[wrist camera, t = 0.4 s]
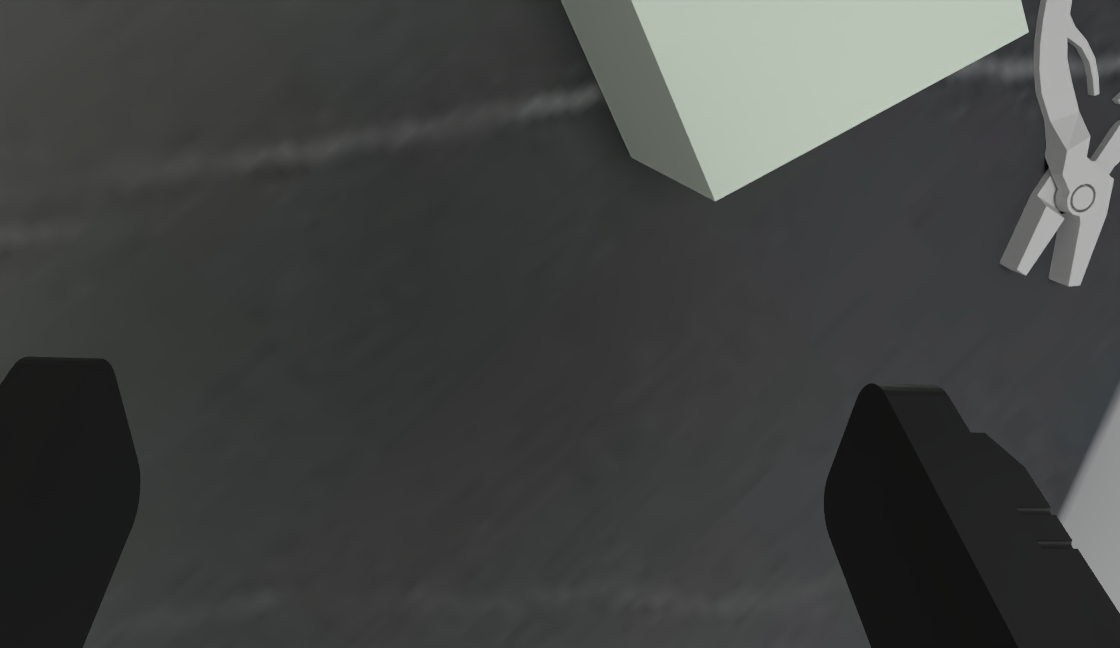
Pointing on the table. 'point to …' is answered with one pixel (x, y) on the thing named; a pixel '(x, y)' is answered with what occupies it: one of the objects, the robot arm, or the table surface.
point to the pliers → (1064, 158)
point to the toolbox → (769, 72)
